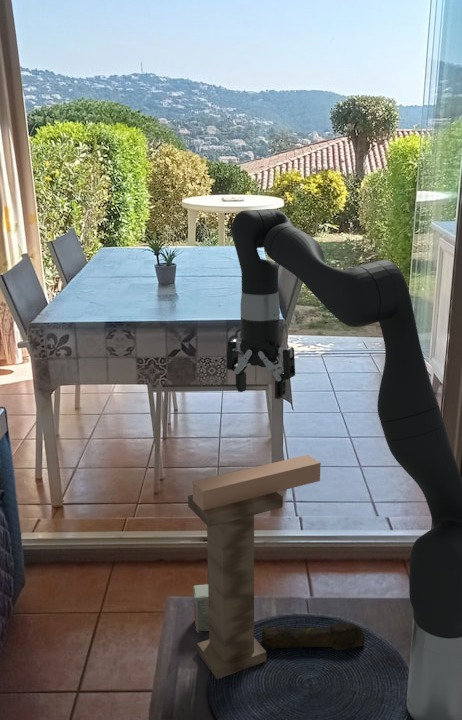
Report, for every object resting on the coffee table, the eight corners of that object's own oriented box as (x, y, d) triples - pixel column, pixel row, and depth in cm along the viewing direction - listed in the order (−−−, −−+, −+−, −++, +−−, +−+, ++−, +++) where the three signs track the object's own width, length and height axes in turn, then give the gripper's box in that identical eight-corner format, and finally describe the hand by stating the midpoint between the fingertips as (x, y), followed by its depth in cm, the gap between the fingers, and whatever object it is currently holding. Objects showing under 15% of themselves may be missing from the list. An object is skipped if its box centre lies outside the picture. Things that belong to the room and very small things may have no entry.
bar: (307, 472, 133) (308, 454, 132) (320, 480, 130) (320, 462, 129) (192, 500, 123) (192, 481, 122) (203, 510, 120) (202, 491, 119)
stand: (258, 631, 140) (259, 478, 131) (280, 655, 133) (282, 496, 124) (192, 654, 134) (187, 495, 125) (211, 681, 127) (208, 515, 118)
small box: (219, 617, 144) (219, 582, 142) (221, 631, 140) (221, 595, 138) (194, 619, 144) (193, 584, 141) (195, 633, 140) (194, 597, 137)
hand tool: (261, 654, 134) (262, 633, 133) (261, 640, 138) (261, 619, 137) (365, 656, 133) (367, 635, 132) (362, 642, 137) (363, 621, 136)
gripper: (218, 314, 142) (220, 394, 146) (283, 322, 134) (282, 406, 139) (238, 307, 148) (239, 384, 152) (301, 314, 140) (301, 395, 145)
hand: (260, 394), depth 146 cm, fingers open, 8 cm apart
